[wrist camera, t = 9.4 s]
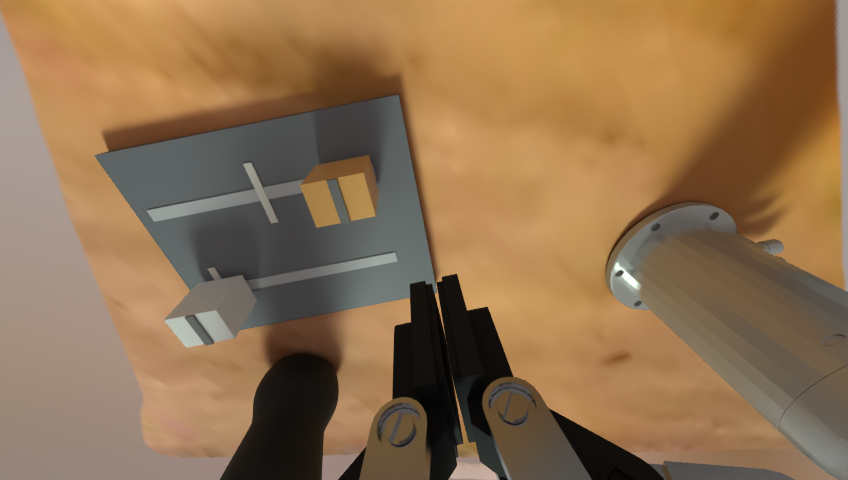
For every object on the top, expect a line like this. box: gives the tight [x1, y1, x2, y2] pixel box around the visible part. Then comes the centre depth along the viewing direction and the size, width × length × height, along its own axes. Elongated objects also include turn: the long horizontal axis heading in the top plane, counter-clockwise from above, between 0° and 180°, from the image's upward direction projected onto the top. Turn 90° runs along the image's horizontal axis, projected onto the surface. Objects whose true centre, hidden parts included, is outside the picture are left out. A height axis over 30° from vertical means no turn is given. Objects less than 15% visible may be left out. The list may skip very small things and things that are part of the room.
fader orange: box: [300, 155, 379, 228], centre depth 21 cm, size 4×3×5 cm
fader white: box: [164, 275, 257, 347], centre depth 26 cm, size 4×3×5 cm
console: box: [94, 94, 437, 330], centre depth 26 cm, size 22×18×1 cm
